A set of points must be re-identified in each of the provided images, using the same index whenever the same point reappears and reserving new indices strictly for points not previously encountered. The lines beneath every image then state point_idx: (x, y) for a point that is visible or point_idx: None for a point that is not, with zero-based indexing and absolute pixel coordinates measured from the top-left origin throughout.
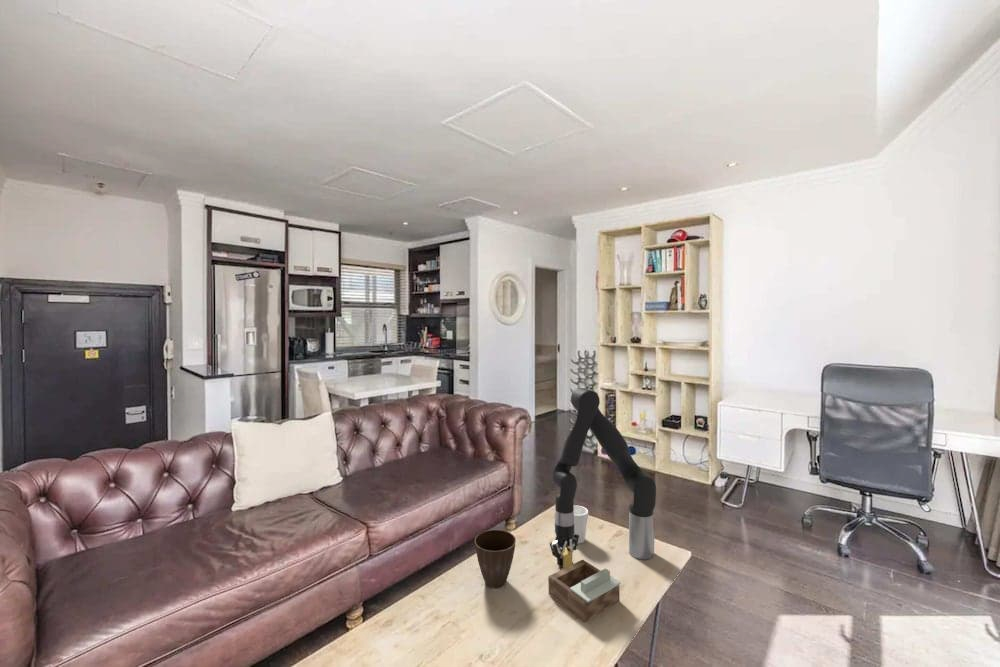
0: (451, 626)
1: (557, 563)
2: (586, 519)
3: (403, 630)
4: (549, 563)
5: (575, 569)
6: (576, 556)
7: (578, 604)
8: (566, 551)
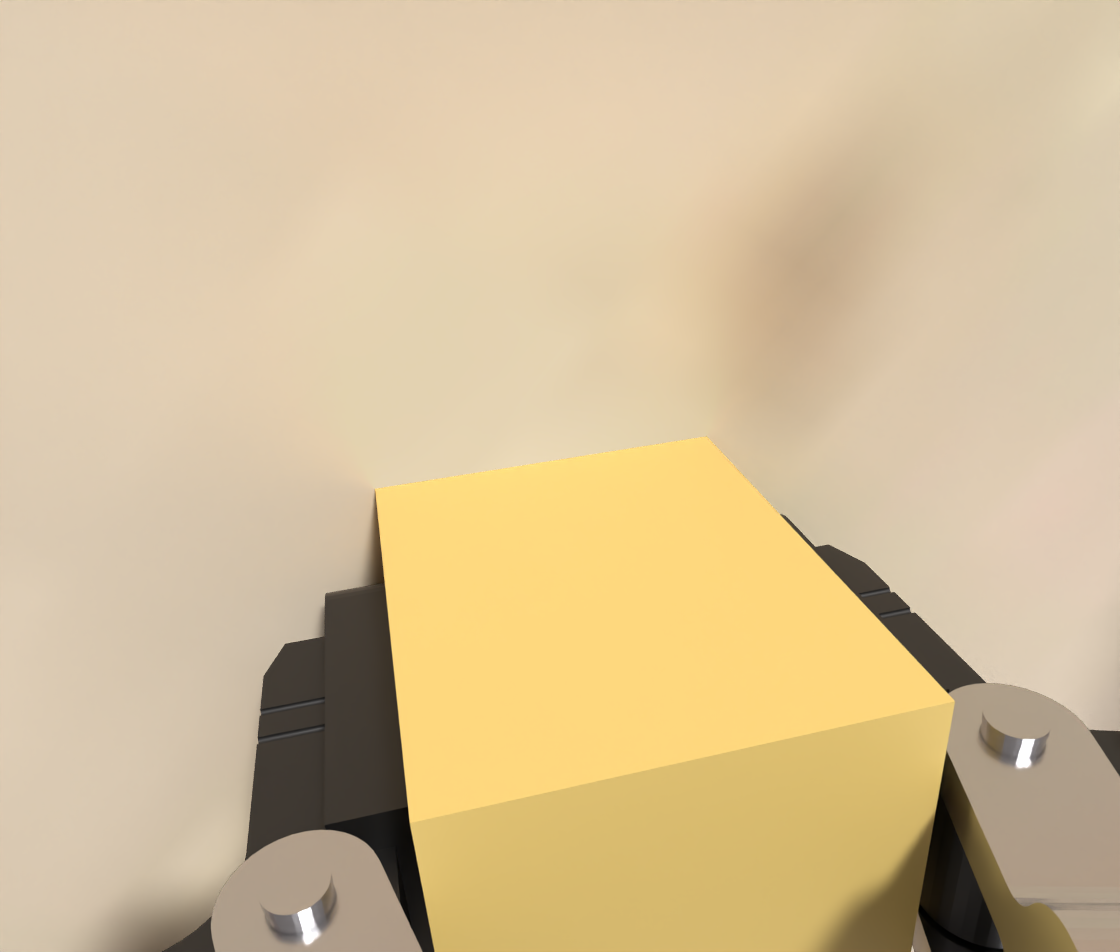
0: None
1: (269, 693)
2: None
3: None
4: (103, 342)
5: None
6: (1092, 431)
7: None
8: (795, 928)
